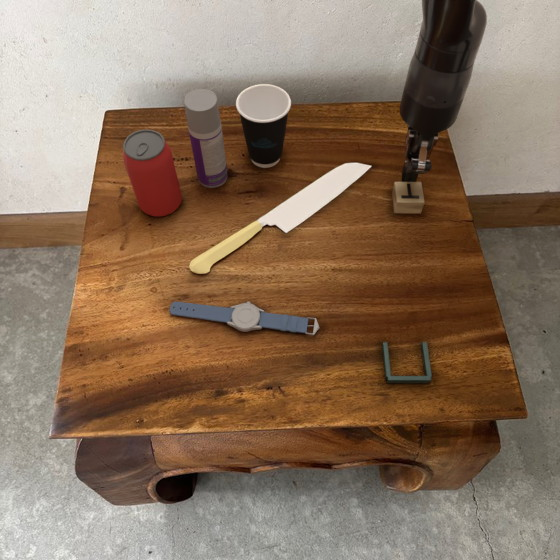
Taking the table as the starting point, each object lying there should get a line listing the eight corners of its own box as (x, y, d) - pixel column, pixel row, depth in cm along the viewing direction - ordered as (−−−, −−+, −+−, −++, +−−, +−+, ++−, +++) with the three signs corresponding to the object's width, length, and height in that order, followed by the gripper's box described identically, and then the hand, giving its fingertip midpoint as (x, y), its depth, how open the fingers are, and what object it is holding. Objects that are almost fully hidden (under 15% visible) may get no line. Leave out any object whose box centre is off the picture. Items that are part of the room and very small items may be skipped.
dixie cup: (272, 132, 91) (271, 76, 81) (300, 161, 87) (302, 106, 78) (231, 152, 88) (225, 97, 79) (258, 182, 85) (255, 129, 76)
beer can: (132, 214, 82) (110, 157, 72) (148, 181, 85) (129, 122, 75) (174, 222, 81) (158, 165, 71) (188, 189, 84) (175, 130, 74)
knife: (380, 171, 86) (360, 150, 87) (203, 284, 74) (183, 258, 76) (378, 176, 87) (358, 156, 88) (203, 288, 76) (183, 263, 77)
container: (194, 170, 86) (178, 92, 74) (222, 162, 87) (212, 84, 75) (202, 191, 84) (188, 115, 71) (231, 183, 85) (222, 106, 72)
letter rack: (381, 345, 71) (382, 341, 70) (425, 345, 70) (426, 341, 70) (385, 383, 68) (386, 380, 67) (430, 383, 68) (432, 380, 67)
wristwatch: (317, 342, 71) (318, 339, 70) (166, 322, 72) (165, 318, 71) (321, 313, 73) (321, 310, 72) (174, 294, 74) (173, 290, 74)
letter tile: (391, 192, 84) (394, 180, 82) (417, 193, 84) (421, 181, 82) (394, 213, 82) (397, 201, 79) (420, 213, 82) (424, 202, 79)
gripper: (468, 125, 65) (433, 215, 80) (464, 54, 72) (432, 149, 86) (404, 119, 65) (381, 210, 80) (406, 49, 72) (384, 145, 87)
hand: (408, 178), depth 83 cm, fingers closed
